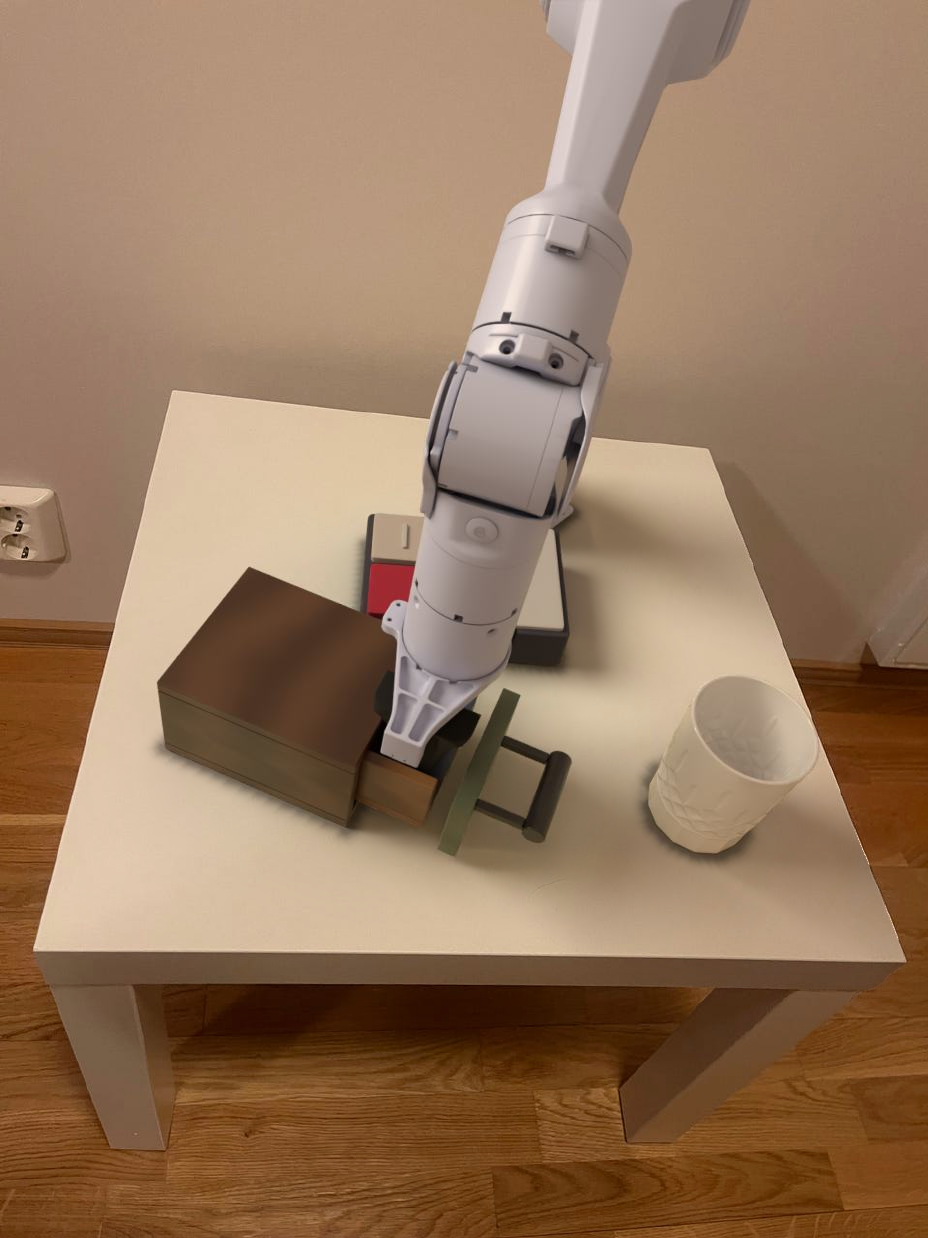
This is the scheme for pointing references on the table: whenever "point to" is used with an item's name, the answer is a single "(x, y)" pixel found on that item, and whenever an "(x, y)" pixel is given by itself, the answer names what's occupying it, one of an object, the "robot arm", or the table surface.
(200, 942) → the table surface
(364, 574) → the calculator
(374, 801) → the drawer
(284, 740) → the cabinet
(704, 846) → the white cup
